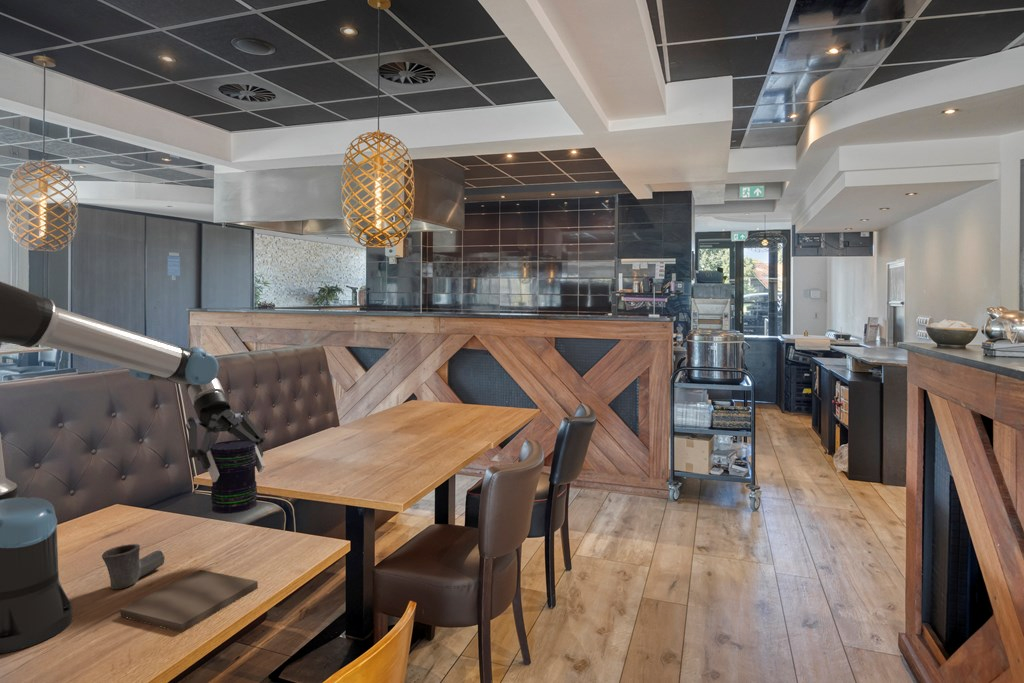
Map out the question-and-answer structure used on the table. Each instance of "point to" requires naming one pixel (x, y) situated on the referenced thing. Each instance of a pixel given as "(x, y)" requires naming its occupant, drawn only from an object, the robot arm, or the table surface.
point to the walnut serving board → (189, 600)
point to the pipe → (129, 564)
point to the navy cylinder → (234, 476)
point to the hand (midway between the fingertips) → (239, 473)
